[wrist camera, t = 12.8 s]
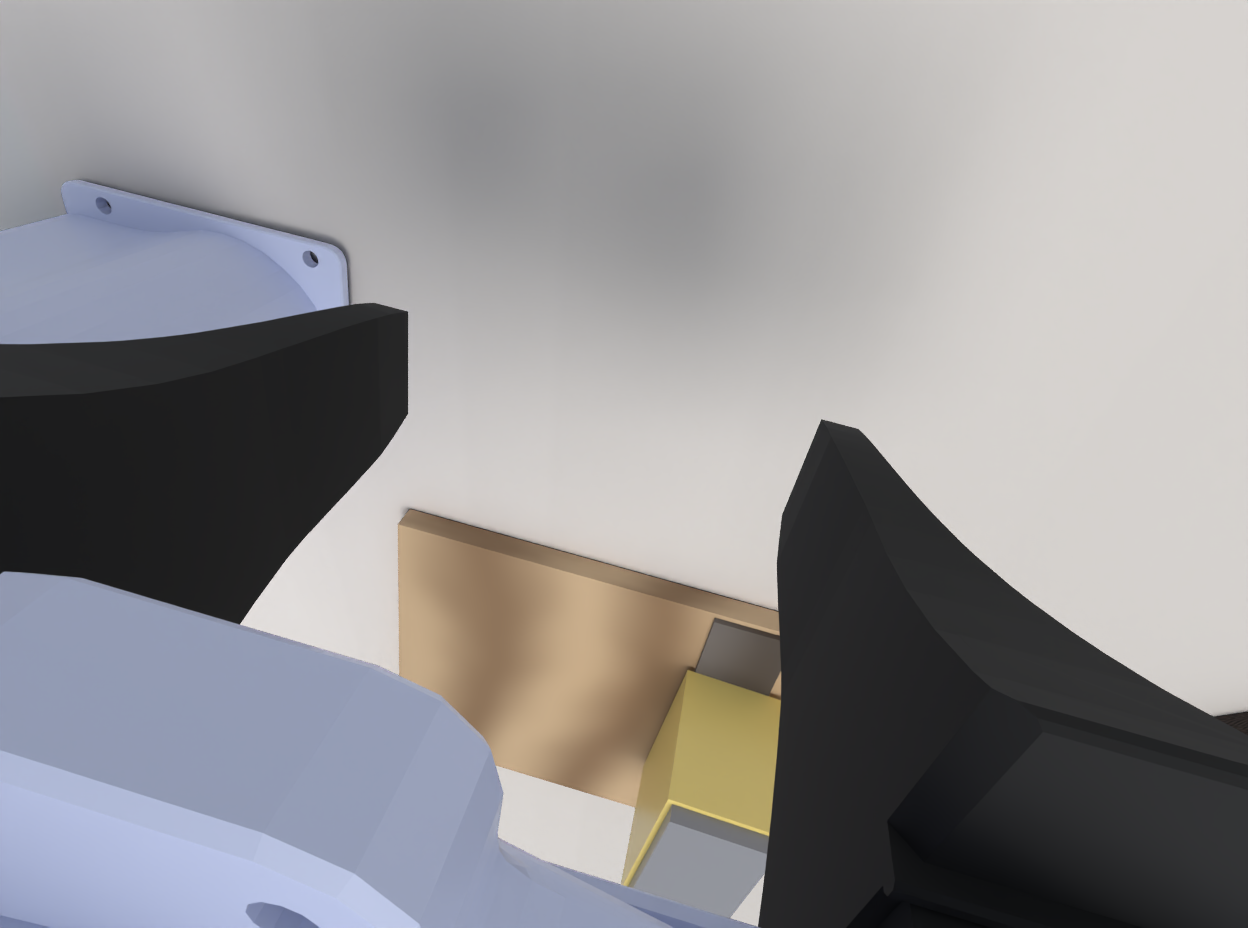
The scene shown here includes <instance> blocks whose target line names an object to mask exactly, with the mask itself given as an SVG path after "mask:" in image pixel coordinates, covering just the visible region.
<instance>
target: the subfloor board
mask: <svg viewBox="0 0 1248 928" xmlns="http://www.w3.org/2000/svg"><path fill="white" fill-rule="evenodd" d="M398 584H399V676H401V677H403V678H405V679H407V680H410V681H412V682H414V683H416V684H418V685H420V686H422V687H424V688H426V689H429V690H431V691H433V692H435V693H437V694H439V695H441V696H442V697H443V698H444V699H445V700H446V701H447V702H448V703H449V704H450V705H451V706H452V707H453V708H454V709H455V710H456V711H457V712H458V713H459V714H460V715H461V716H463V717H464V718H465V719H466V720H467V721H468V722H469V723H470V724H471V725H472V726H473V727H474V728H475V729H476V730H477V731H478V732H479V733H480V734H481V735H482V736H483V737H484V738H485V740H486V742H487V744H488V745H489V747H490V749H491V752H492V755H493V759H494V762H495V765H496V766H500V767H503V768H506V769H510V770H513V771H516V772H519V773H523V774H526V775H529V776H533V777H536V778H539V779H543V780H546V781H549V782H553V783H556V784H559V785H563V786H566V787H569V788H572V789H576V790H579V791H582V792H586V793H589V794H592V795H596V796H599V797H602V798H606V799H609V800H612V801H616V802H619V803H622V804H625V805H629V806H632V807H635V808H636V802H637V797H638V792H639V787H640V781H641V776H642V771H643V766H644V764H645V761H646V759H647V757H648V755H649V753H650V751H651V748H652V746H653V744H654V742H655V740H656V738H657V735H658V733H659V731H660V729H661V727H662V725H663V722H664V720H665V718H666V716H667V714H668V712H669V709H670V707H671V705H672V703H673V701H674V698H675V696H676V694H677V692H678V690H679V688H680V685H681V683H682V681H683V679H684V677H685V675H686V672H687V670H689V671H693V672H696V673H699V674H702V675H705V676H708V677H711V678H714V679H717V680H720V681H723V682H726V683H729V684H732V685H735V686H739V687H742V688H745V689H748V690H751V691H754V692H757V693H760V694H763V695H766V696H769V697H772V698H775V699H778V700H781V658H780V634H779V612H777V611H773V610H770V609H766V608H763V607H759V606H755V605H752V604H748V603H745V602H741V601H738V600H734V599H730V598H727V597H723V596H720V595H716V594H712V593H709V592H705V591H702V590H698V589H695V588H691V587H687V586H684V585H680V584H677V583H673V582H670V581H666V580H662V579H659V578H655V577H652V576H648V575H645V574H641V573H637V572H634V571H630V570H627V569H623V568H619V567H616V566H612V565H609V564H605V563H602V562H598V561H594V560H591V559H587V558H584V557H580V556H577V555H573V554H569V553H566V552H562V551H559V550H555V549H552V548H548V547H544V546H541V545H537V544H534V543H530V542H526V541H523V540H519V539H516V538H512V537H509V536H505V535H501V534H498V533H494V532H491V531H487V530H484V529H480V528H476V527H473V526H469V525H466V524H462V523H459V522H455V521H451V520H448V519H444V518H441V517H437V516H433V515H430V514H426V513H423V512H419V511H416V510H412V509H409V511H408V512H407V513H406V515H405V516H404V517H403V518H402V520H401V521H400V522H399V524H398Z"/></svg>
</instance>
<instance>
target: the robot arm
mask: <svg viewBox="0 0 1248 928" xmlns="http://www.w3.org/2000/svg"><path fill="white" fill-rule="evenodd" d="M61 193H62V198H63V201H64V205H65V208H66V212H67V214H64V215H61V216H57V217H53V218H49V219H45V220H41V221H37V222H33V223H29V224H26V225H22V226H18V227H14V228H10V229H6V230H2V231H0V928H1248V735H1246V734H1244V733H1242V732H1240V731H1239V730H1237V729H1235V728H1233V727H1231V726H1229V725H1227V724H1226V723H1224V722H1222V721H1220V720H1218V719H1216V718H1215V717H1213V716H1211V715H1209V714H1207V713H1205V712H1204V711H1202V710H1200V709H1198V708H1196V707H1194V706H1192V705H1191V704H1189V703H1187V702H1185V701H1183V700H1181V699H1180V698H1178V697H1176V696H1174V695H1172V694H1170V693H1169V692H1167V691H1165V690H1163V689H1162V688H1160V687H1158V686H1157V685H1155V684H1153V683H1152V682H1150V681H1148V680H1147V679H1145V678H1144V677H1142V676H1140V675H1139V674H1137V673H1135V672H1134V671H1132V670H1131V669H1129V668H1127V667H1126V666H1124V665H1123V664H1121V663H1119V662H1118V661H1116V660H1114V659H1113V658H1111V657H1110V656H1108V655H1106V654H1105V653H1103V652H1102V651H1100V650H1099V649H1097V648H1096V647H1094V646H1093V645H1091V644H1090V643H1088V642H1087V641H1085V640H1084V639H1082V638H1081V637H1079V636H1078V635H1076V634H1075V633H1073V632H1072V631H1070V630H1069V629H1068V628H1066V627H1065V626H1064V625H1062V624H1061V623H1059V622H1058V621H1057V620H1055V619H1054V618H1053V617H1051V616H1050V615H1048V614H1047V613H1046V612H1044V611H1043V610H1041V609H1040V608H1039V607H1037V606H1036V605H1035V604H1033V603H1032V602H1031V601H1029V600H1028V599H1027V598H1025V597H1024V596H1023V595H1022V594H1020V593H1019V592H1018V591H1016V590H1015V589H1014V588H1013V587H1011V586H1010V585H1009V584H1008V583H1007V582H1005V581H1004V580H1003V579H1002V578H1001V577H1000V576H998V575H997V574H996V573H995V572H994V571H993V570H991V569H990V568H989V567H988V566H987V565H986V564H984V563H983V562H982V561H981V560H980V559H979V558H977V557H976V556H975V555H974V554H973V553H972V552H971V551H970V550H969V549H968V548H967V547H965V546H964V545H963V544H962V543H961V542H960V541H959V540H958V539H957V538H956V537H955V536H954V535H953V534H952V533H951V532H950V531H949V530H948V529H947V528H946V527H945V526H944V525H943V524H942V523H941V522H940V521H939V520H938V519H937V518H936V517H935V515H934V514H933V513H932V512H931V511H930V510H929V509H928V508H927V507H926V506H925V505H924V504H923V502H922V501H921V500H920V499H919V498H918V497H917V496H916V495H915V493H914V492H913V491H912V490H911V489H910V488H909V487H908V485H907V484H906V483H905V482H904V481H903V480H902V478H901V477H900V476H899V475H898V474H897V472H896V471H895V470H894V469H893V468H892V467H891V465H890V464H889V463H888V462H887V461H886V459H885V458H884V457H883V456H882V455H881V453H880V452H879V451H878V450H877V449H876V447H875V446H874V445H873V444H872V443H871V442H870V440H869V439H868V438H867V437H866V436H865V435H864V434H863V433H862V432H861V431H860V430H859V429H856V428H852V427H848V426H845V425H841V424H837V423H833V422H829V421H825V420H822V419H821V422H820V424H819V427H818V429H817V432H816V434H815V436H814V439H813V441H812V444H811V446H810V449H809V451H808V453H807V456H806V458H805V461H804V463H803V466H802V468H801V471H800V473H799V475H798V478H797V480H796V483H795V485H794V488H793V490H792V492H791V495H790V497H789V500H788V502H787V505H786V507H785V509H784V512H783V514H782V521H781V530H780V538H779V547H778V558H777V583H778V610H779V634H780V658H781V707H780V720H779V733H778V747H777V759H776V770H775V781H774V792H773V802H772V813H771V823H770V832H769V841H768V849H767V858H766V867H765V876H764V885H763V893H762V901H761V909H760V916H759V924H758V927H756V926H753V925H750V924H747V923H744V922H740V921H737V920H734V919H731V918H727V917H724V916H721V915H718V914H714V913H711V912H708V911H705V910H702V909H698V908H695V907H692V906H689V905H685V904H682V903H679V902H676V901H672V900H669V899H666V898H663V897H660V896H656V895H653V894H650V893H647V892H643V891H640V890H637V889H634V888H630V887H627V886H624V885H621V884H618V883H614V882H611V881H608V880H605V879H601V878H598V877H595V876H592V875H588V874H585V873H582V872H579V871H576V870H572V869H569V868H566V867H563V866H559V865H556V864H553V863H550V862H547V861H543V860H541V859H539V858H537V857H535V856H533V855H531V854H529V853H527V852H525V851H524V850H522V849H520V848H518V847H516V846H514V845H512V844H510V843H508V842H506V841H504V840H502V839H500V838H498V826H499V819H500V813H501V806H502V800H503V790H502V787H501V783H500V780H499V776H498V773H497V769H496V766H495V762H494V759H493V755H492V752H491V749H490V747H489V745H488V744H487V742H486V740H485V738H484V737H483V736H482V735H481V734H480V733H479V732H478V731H477V730H476V729H475V728H474V727H473V726H472V725H471V724H470V723H469V722H468V721H467V720H466V719H465V718H464V717H463V716H461V715H460V714H459V713H458V712H457V711H456V710H455V709H454V708H453V707H452V706H451V705H450V704H449V703H448V702H447V701H446V700H445V699H444V698H443V697H442V696H441V695H439V694H437V693H435V692H433V691H431V690H429V689H426V688H424V687H422V686H420V685H418V684H416V683H414V682H412V681H410V680H407V679H405V678H403V677H401V676H399V675H397V674H395V673H393V672H391V671H388V670H386V669H384V668H382V667H380V666H378V665H374V664H371V663H368V662H364V661H361V660H357V659H354V658H351V657H347V656H344V655H341V654H337V653H334V652H330V651H327V650H324V649H320V648H317V647H314V646H310V645H307V644H303V643H300V642H297V641H293V640H290V639H286V638H283V637H280V636H276V635H273V634H270V633H266V632H263V631H259V630H256V629H253V628H249V627H246V626H242V625H240V623H241V622H242V620H243V619H244V617H245V616H246V614H247V613H248V612H249V610H250V609H251V607H252V606H253V604H254V603H255V601H256V600H257V599H258V597H259V596H260V595H261V593H262V592H263V590H264V589H265V588H266V586H267V585H268V584H269V582H270V581H271V579H272V578H273V577H274V575H275V574H276V573H277V571H278V570H279V569H280V567H281V566H282V564H283V563H284V562H285V560H286V559H287V558H288V557H289V555H290V554H291V553H292V552H293V551H294V549H295V548H296V547H297V546H298V545H299V544H300V542H301V541H302V540H303V539H304V538H305V537H306V536H307V534H308V533H309V532H310V531H311V530H312V529H313V528H314V527H315V526H316V525H317V524H318V523H319V522H320V521H321V519H322V518H323V517H324V516H325V515H326V514H327V513H328V512H329V511H330V510H331V509H332V508H333V507H334V505H335V504H336V503H337V502H338V501H339V500H340V499H341V498H342V497H343V496H344V495H345V494H346V493H347V492H348V491H349V489H350V488H351V487H352V486H353V485H354V484H355V483H356V482H357V481H358V480H359V479H360V477H361V476H362V475H363V474H364V473H365V472H366V471H367V470H368V469H369V468H370V467H371V465H372V464H373V463H374V462H375V461H376V460H377V459H378V457H379V456H380V455H381V454H382V453H383V451H384V450H385V448H386V447H387V445H388V444H389V442H390V441H391V440H392V438H393V437H394V435H395V433H396V432H397V430H398V429H399V427H400V426H401V424H402V422H403V421H404V419H405V418H406V416H407V414H408V312H407V311H403V310H399V309H395V308H392V307H388V306H384V305H380V304H376V303H364V304H354V305H349V298H348V279H347V263H346V259H345V256H344V255H343V253H342V251H341V250H339V249H338V248H337V247H336V246H334V245H332V244H328V243H324V242H320V241H316V240H313V239H309V238H305V237H301V236H297V235H293V234H289V233H285V232H281V231H277V230H274V229H270V228H266V227H262V226H258V225H254V224H250V223H246V222H242V221H238V220H234V219H231V218H227V217H223V216H219V215H215V214H211V213H207V212H203V211H199V210H195V209H191V208H188V207H184V206H180V205H176V204H172V203H168V202H164V201H160V200H156V199H152V198H148V197H145V196H141V195H137V194H133V193H129V192H125V191H121V190H117V189H113V188H109V187H105V186H102V185H98V184H94V183H90V182H86V181H82V180H71V181H67V182H65V183H63V185H62V187H61ZM106 200H107V201H108V202H109V204H110V206H111V208H110V207H109V206H108V204H107V202H106ZM310 251H311V252H313V253H314V254H315V255H316V256H317V258H318V261H319V262H318V264H317V263H316V262H314V261H313V260H312V258H311V256H310Z"/></svg>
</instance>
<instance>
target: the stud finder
mask: <svg viewBox="0 0 1248 928" xmlns="http://www.w3.org/2000/svg"><path fill="white" fill-rule="evenodd" d="M780 707H781V700H778V699H775V698H772V697H769V696H766V695H763V694H760V693H757V692H754V691H751V690H748V689H745V688H742V687H739V686H735V685H732V684H729V683H726V682H723V681H720V680H717V679H714V678H711V677H708V676H705V675H702V674H699V673H696V672H693V671H689V670H687V672H686V675H685V677H684V679H683V681H682V683H681V685H680V688H679V690H678V692H677V694H676V696H675V698H674V701H673V703H672V705H671V707H670V709H669V712H668V714H667V716H666V718H665V720H664V722H663V725H662V727H661V729H660V731H659V733H658V735H657V738H656V740H655V742H654V744H653V746H652V748H651V751H650V753H649V755H648V757H647V759H646V761H645V764H644V766H643V771H642V776H641V781H640V787H639V792H638V797H637V802H636V808H635V813H634V818H633V823H632V829H631V834H630V839H629V844H628V849H627V855H626V860H625V865H624V870H623V876H622V881H621V885H624V886H627V887H630V888H634V889H637V890H640V891H643V892H647V893H650V894H653V895H656V896H660V897H663V898H666V899H669V900H672V901H676V902H679V903H682V904H685V905H689V906H692V907H695V908H698V909H702V910H705V911H708V912H711V913H714V914H718V915H721V916H724V917H727V918H730V917H731V916H732V915H733V913H734V912H735V911H736V910H737V908H738V907H739V906H740V904H741V903H742V902H743V901H744V899H745V898H746V897H747V895H748V894H749V893H750V892H751V890H752V889H753V888H754V886H755V885H756V884H757V883H758V881H759V880H760V879H761V878H762V876H763V875H764V874H765V867H766V858H767V849H768V841H769V832H770V823H771V813H772V802H773V792H774V781H775V770H776V759H777V747H778V733H779V720H780Z"/></svg>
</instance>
